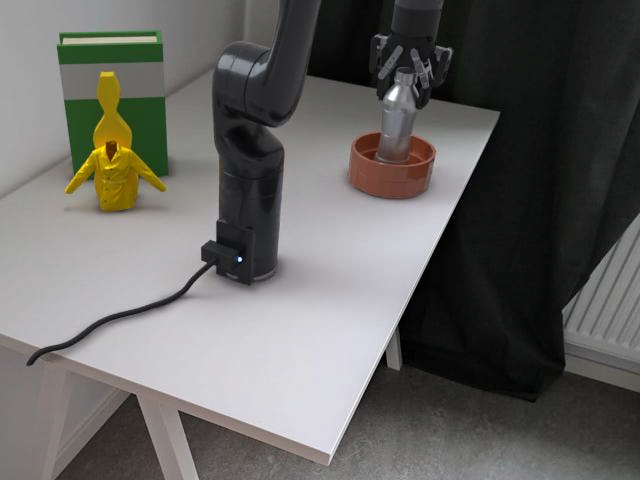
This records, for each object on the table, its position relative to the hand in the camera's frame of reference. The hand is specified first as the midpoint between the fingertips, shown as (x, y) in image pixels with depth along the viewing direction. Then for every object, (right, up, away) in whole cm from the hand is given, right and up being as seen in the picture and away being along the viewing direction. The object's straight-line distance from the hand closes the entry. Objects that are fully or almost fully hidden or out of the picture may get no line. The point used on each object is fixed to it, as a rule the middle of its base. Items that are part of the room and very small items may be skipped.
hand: (401, 103), depth 127 cm
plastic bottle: (0, -11, +9) cm, 14 cm away
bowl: (0, -11, +10) cm, 15 cm away
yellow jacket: (-50, -17, +2) cm, 53 cm away
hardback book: (-51, -8, +12) cm, 53 cm away
